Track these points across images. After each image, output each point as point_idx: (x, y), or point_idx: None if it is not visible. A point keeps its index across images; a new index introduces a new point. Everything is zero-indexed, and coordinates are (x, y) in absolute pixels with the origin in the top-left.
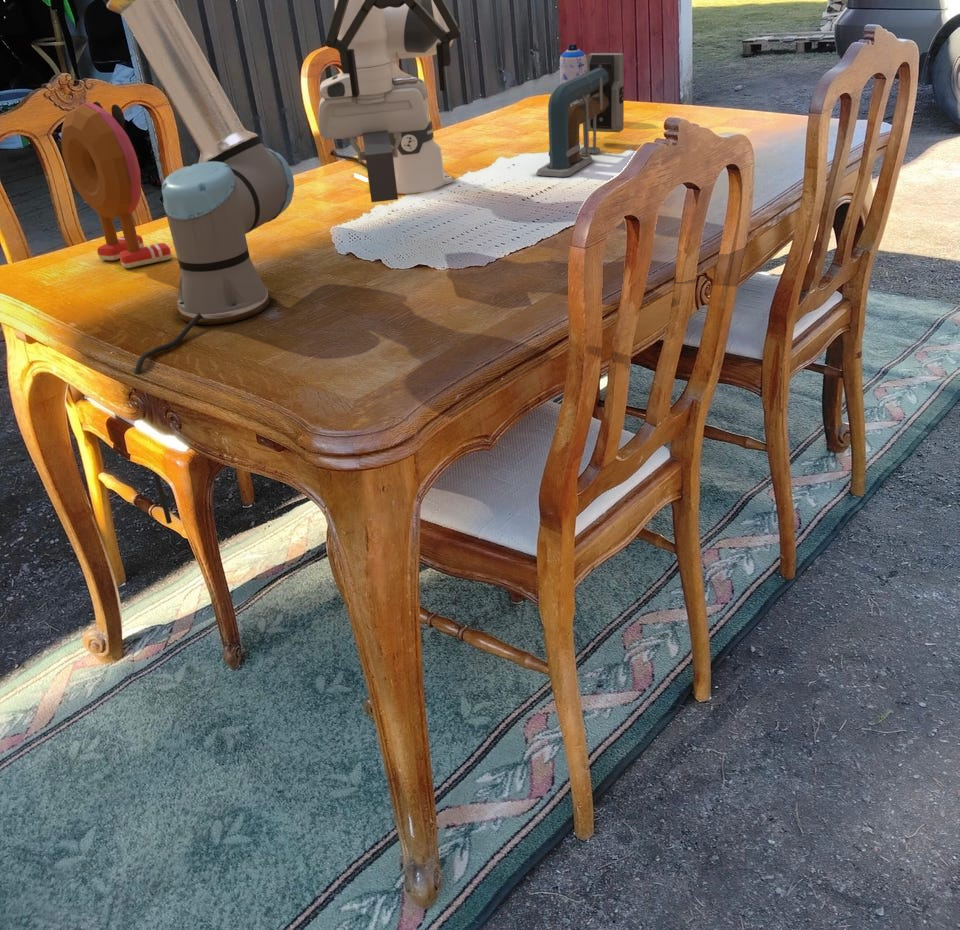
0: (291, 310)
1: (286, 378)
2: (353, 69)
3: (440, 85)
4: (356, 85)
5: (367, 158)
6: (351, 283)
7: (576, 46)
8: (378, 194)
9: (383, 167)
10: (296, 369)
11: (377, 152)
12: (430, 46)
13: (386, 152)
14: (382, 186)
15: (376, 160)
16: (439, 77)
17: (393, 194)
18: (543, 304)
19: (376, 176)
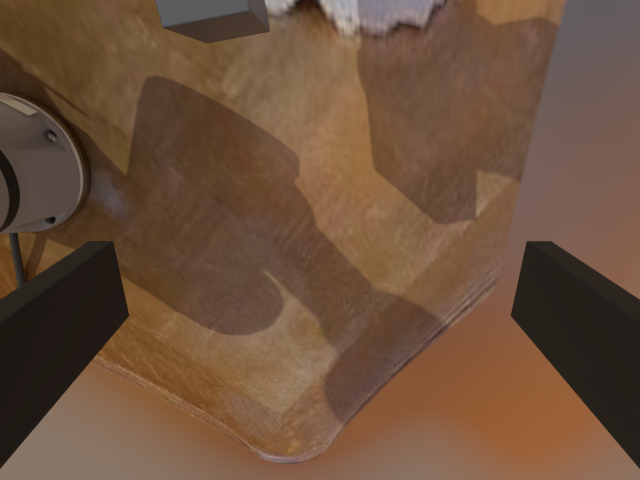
0: (133, 185)
1: (200, 371)
2: (51, 407)
3: (525, 328)
4: (99, 322)
5: (172, 28)
6: (195, 78)
7: None
8: (220, 38)
9: (226, 24)
10: (204, 354)
11: (198, 2)
12: None
13: (230, 12)
14: (229, 33)
15: (202, 24)
16: (544, 352)
17: (258, 31)
18: (491, 218)
19: (209, 32)
